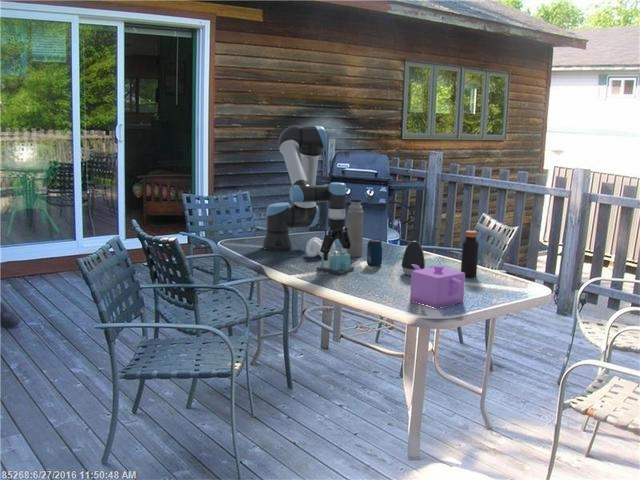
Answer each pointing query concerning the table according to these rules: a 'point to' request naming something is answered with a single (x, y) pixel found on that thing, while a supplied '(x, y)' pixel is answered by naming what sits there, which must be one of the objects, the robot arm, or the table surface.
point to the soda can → (374, 253)
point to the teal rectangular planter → (338, 261)
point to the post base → (335, 253)
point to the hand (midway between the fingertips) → (335, 265)
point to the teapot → (437, 286)
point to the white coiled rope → (314, 247)
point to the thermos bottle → (355, 228)
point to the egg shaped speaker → (413, 257)
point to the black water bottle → (470, 254)
